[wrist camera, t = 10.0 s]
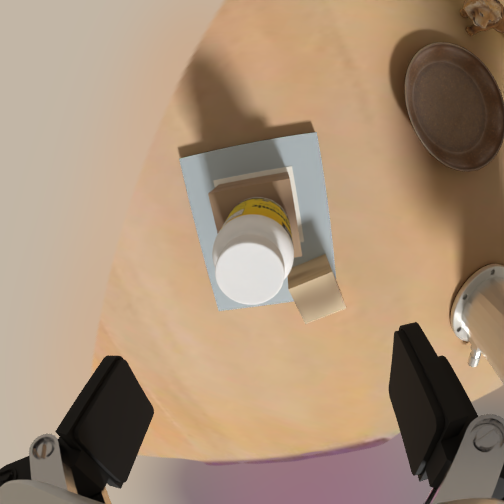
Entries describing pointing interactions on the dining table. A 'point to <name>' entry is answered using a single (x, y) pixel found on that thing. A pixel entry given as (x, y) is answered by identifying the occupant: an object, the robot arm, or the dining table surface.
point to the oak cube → (315, 289)
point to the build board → (255, 165)
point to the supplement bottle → (253, 251)
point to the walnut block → (263, 186)
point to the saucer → (454, 106)
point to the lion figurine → (484, 15)
